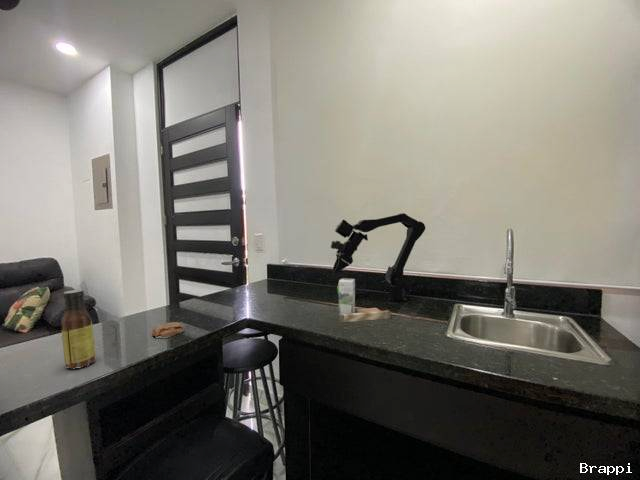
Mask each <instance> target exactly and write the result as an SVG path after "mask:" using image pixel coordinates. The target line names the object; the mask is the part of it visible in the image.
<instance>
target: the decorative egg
mask: <svg viewBox="0 0 640 480" xmlns="http://www.w3.org/2000/svg"><path fill="white" fill-rule="evenodd" d="M341 279H349V278H348V277H342V278H341ZM336 293H337V296H338V297H339V282H338V284H337V287H336Z"/></svg>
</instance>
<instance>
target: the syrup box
mask: <svg viewBox="0 0 640 480" xmlns="http://www.w3.org/2000/svg"><path fill="white" fill-rule="evenodd" d="M338 283H339V296H338V315H339V314H350V313H356V300H355V299H356V279H355V278H348V279H342V278H340V279H339V281H338Z"/></svg>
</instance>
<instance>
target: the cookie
mask: <svg viewBox="0 0 640 480" xmlns="http://www.w3.org/2000/svg"><path fill="white" fill-rule="evenodd" d="M182 331H183V332H184V331H185V329H184V326H183V324H182V323H181V322H176V321H171V322H166V323H162V324H159V325H158V326H156V327H154V328H153V329H152V331H151V336H152V337H153V336H155V337H158V336H161V337H167V336H171V335H174V334H177V333H181V332H182Z"/></svg>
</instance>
